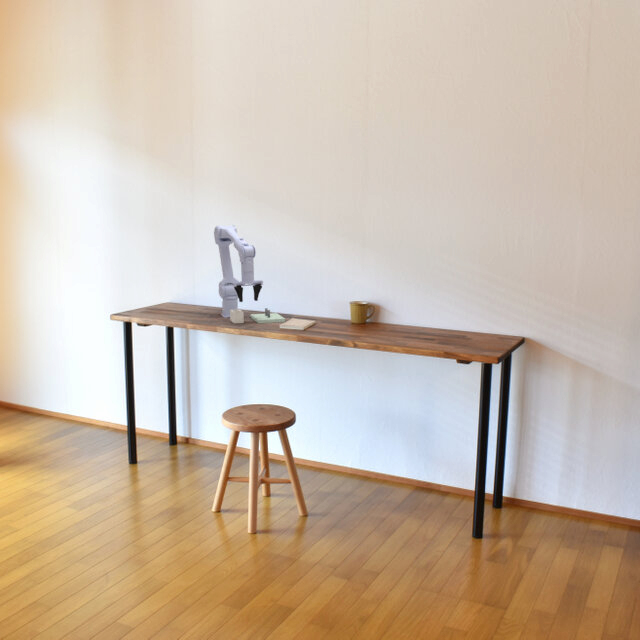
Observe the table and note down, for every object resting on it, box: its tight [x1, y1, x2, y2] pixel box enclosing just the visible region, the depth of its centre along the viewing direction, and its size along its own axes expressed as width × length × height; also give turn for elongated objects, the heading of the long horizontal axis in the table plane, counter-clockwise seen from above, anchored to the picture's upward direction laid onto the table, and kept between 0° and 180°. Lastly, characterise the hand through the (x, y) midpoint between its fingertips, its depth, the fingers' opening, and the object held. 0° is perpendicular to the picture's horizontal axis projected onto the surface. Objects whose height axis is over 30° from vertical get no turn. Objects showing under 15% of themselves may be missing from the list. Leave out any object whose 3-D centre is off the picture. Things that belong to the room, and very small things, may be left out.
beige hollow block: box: [229, 308, 245, 324], centre depth 367 cm, size 9×5×5 cm, turn 17°
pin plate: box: [250, 307, 286, 324], centre depth 373 cm, size 16×13×5 cm
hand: (248, 301), depth 363 cm, fingers open, 7 cm apart
